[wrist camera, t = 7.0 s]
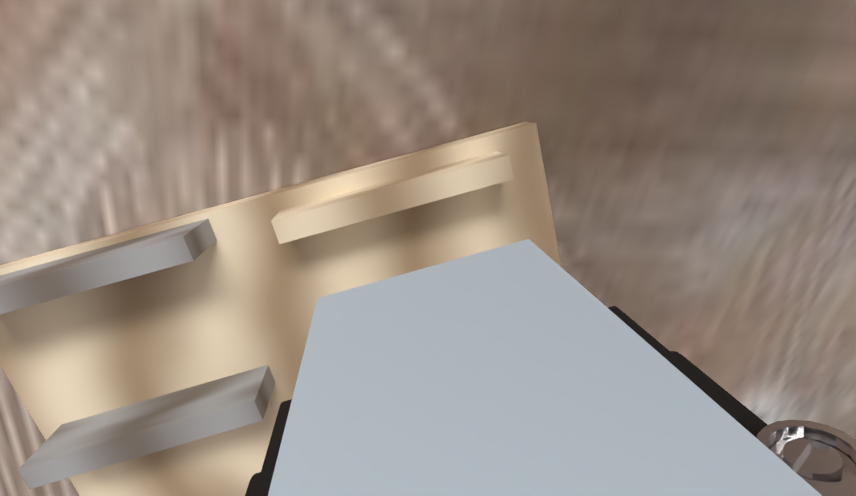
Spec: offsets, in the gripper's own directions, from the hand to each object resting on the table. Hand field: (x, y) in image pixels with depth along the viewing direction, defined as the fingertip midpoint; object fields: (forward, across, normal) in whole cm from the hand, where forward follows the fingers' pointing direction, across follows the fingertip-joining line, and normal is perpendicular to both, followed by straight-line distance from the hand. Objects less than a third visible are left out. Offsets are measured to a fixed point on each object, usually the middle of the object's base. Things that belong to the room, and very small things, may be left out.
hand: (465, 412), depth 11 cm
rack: (+14, +6, +4) cm, 16 cm away
